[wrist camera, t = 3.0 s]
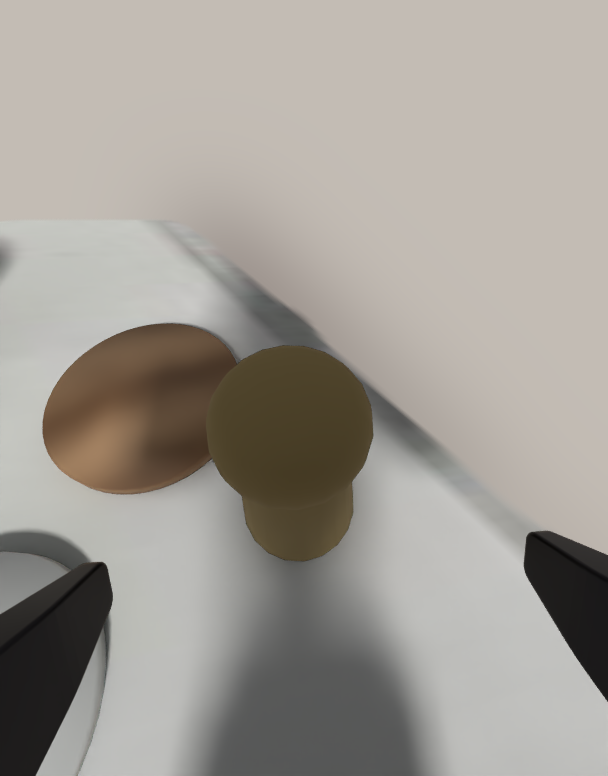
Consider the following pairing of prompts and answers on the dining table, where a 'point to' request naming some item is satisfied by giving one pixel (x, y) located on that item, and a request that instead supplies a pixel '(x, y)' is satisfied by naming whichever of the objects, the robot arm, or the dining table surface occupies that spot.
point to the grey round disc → (68, 750)
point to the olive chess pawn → (291, 446)
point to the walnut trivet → (136, 408)
